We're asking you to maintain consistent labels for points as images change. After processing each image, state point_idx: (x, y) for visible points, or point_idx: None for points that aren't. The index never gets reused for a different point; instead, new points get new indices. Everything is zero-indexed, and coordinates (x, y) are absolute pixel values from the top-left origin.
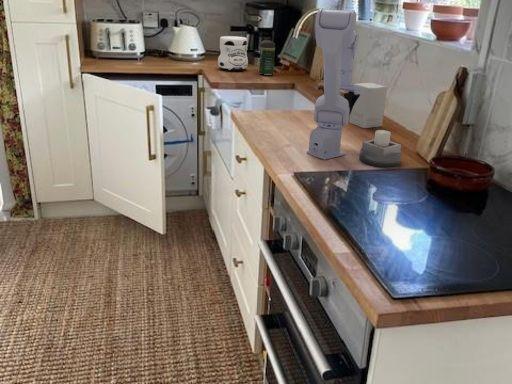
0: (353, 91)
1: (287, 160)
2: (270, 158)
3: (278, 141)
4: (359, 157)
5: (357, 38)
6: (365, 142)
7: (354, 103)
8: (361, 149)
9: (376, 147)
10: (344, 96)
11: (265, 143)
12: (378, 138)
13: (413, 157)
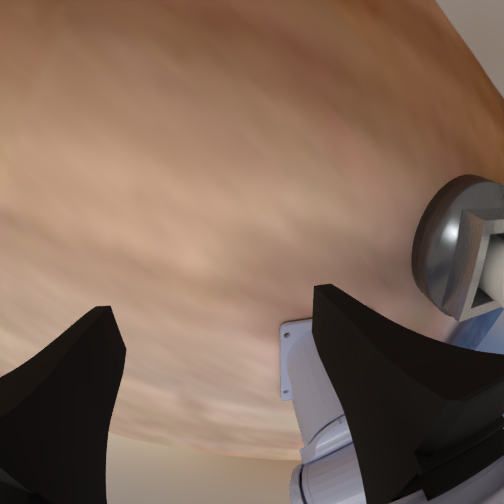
0: (469, 487)
1: (297, 439)
2: (264, 455)
3: (142, 403)
4: (422, 291)
5: None
6: (466, 317)
7: (409, 337)
8: (439, 302)
9: (495, 306)
10: (371, 492)
11: (152, 430)
12: None
13: (495, 109)
